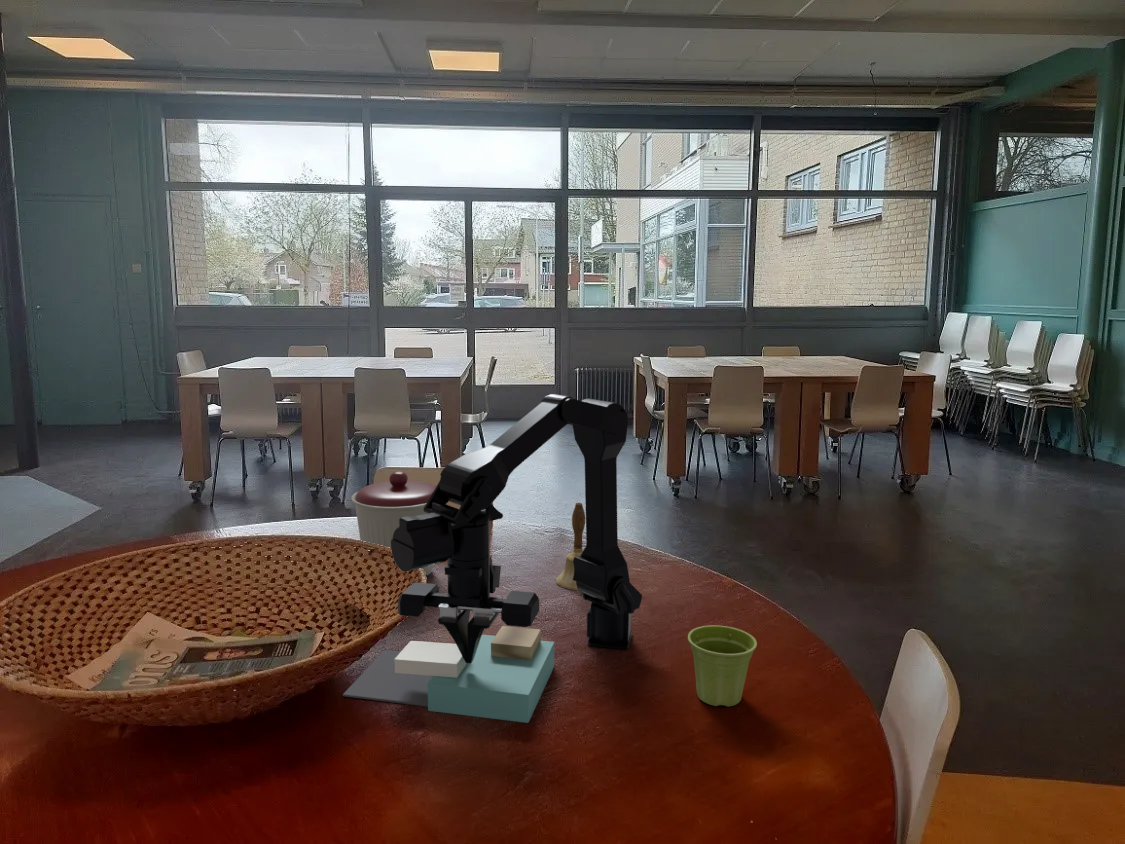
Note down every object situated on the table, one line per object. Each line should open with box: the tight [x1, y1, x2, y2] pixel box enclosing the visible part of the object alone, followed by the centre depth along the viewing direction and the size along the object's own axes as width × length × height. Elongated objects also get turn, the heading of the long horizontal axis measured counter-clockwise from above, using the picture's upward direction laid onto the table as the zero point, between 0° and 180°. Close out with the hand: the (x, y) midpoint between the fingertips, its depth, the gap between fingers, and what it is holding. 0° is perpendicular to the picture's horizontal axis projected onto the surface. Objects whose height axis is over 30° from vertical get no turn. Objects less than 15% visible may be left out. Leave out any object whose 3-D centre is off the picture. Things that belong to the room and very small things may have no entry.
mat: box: [342, 649, 433, 707], centre depth 115 cm, size 13×14×1 cm
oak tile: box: [491, 625, 542, 660], centre depth 115 cm, size 6×6×2 cm
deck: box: [427, 634, 555, 724], centre depth 112 cm, size 14×16×4 cm
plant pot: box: [687, 624, 758, 707], centre depth 110 cm, size 9×9×9 cm
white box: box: [394, 640, 467, 678], centre depth 110 cm, size 9×6×2 cm, turn 79°
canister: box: [350, 470, 437, 577], centre depth 154 cm, size 18×18×21 cm
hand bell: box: [555, 502, 586, 591], centre depth 152 cm, size 8×8×16 cm
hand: (469, 661), depth 109 cm, fingers closed
